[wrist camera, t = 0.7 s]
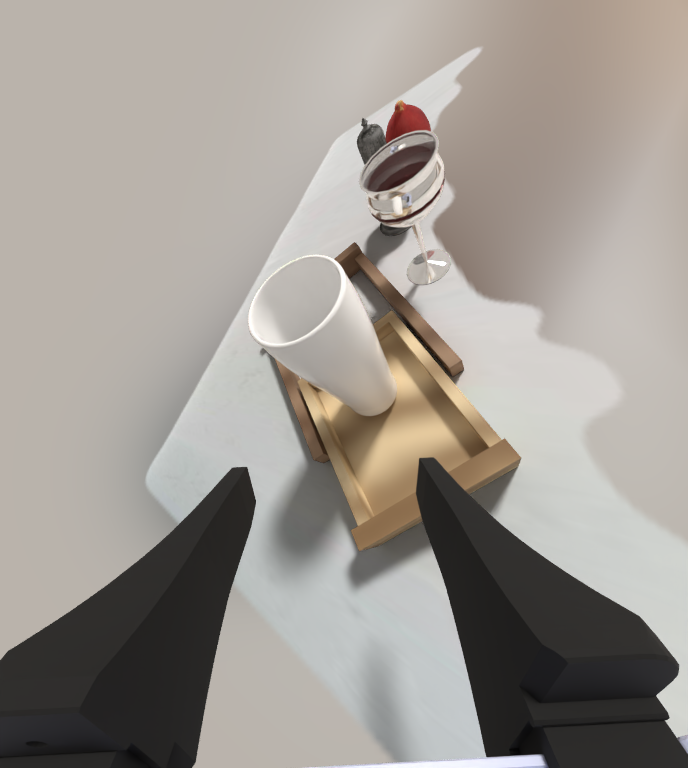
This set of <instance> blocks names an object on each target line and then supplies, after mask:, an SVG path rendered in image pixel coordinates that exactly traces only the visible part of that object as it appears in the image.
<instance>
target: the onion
mask: <svg viewBox="0 0 688 768" xmlns="http://www.w3.org/2000/svg"><path fill="white" fill-rule="evenodd" d="M419 130H428V131H430V132H431V128H430V124H429V121H428V119H427V117H426V116H425V114H424V112H423V111H422V110H421V109H419V108H418V107H415V106H412V105H406V104H405V103H404V102H403V101H402V100H400V101H398V102H397V103H396V105H395V112H394V113H393V115H392V117H391V119H390V121H389V123H388V126H387V131H386V138H385V139H386V142H387V143H389V142H390V141H392V140H393V139H395V138H397V137H399V136H402V135H404V134H406V133H410V132H413V131H419Z"/></svg>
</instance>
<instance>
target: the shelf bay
mask: <svg viewBox="0 0 688 768" xmlns="http://www.w3.org/2000/svg"><path fill="white" fill-rule="evenodd" d="M334 260H335V261H337V262H338V263H339V264H340V265H341V267H342V268H343V270H344V272H345V273H346V275H347V276H348V278H349V279H350V278H351V277H352V276H354V275H355V274H356V273H357V272H358V271H360V270H362V271H363V273H364V274H365V275H366V276H367V277H368V278H369V280H370V281H371V282H372V283H373V284H374V285H375V287H376V288H377V289H378V290H379V291H380V292H381V294H382V295H383V296H384V297H385V298H386V299H387V301H388V302H389V303H390V304H391V305H392V306H393V308H394V309H395V310H396V311H397V312H398V313H399V315H400V316H401V317H402V318H403V319H404V320H405V322H406V323H407V324H408V325H409V326H410V327H411V329H412V330H413V331H414V332H415V333H416V334H417V336H418V337H419V338H420V339H421V340H422V341H423V343H424V344H425V345H426V346H427V347H428V348H429V350H430V351H431V352H432V353H433V354H434V355H435V357H436V358H437V359H438V360H439V361H440V362H441V364H442V365H443V366H444V367H445V368H446V369H447V371H448V372H449V373H450V374H451V375H452V376H453V377H454V376H455V375H457V374H458V373H460V372H461V371H463V370H464V367H463V363H462V360H461V359H460V358H459V357H458V356H457V355H456V353H455V352H454V351H453V350H452V349H451V348H450V347H449V346H448V345H447V344H446V343H445V342H444V340H443V339H442V338H441V337H440V336H439V335H438V334H437V333H436V332H435V331H434V330H433V329H432V327H431V326H430V325H429V324H428V323H427V322H426V321H425V320H424V319H423V318H422V317H421V316H420V314H419V313H418V312H417V311H416V310H415V309H414V308H413V307H412V306H411V305H410V304H409V303H408V302H407V300H406V299H405V298H404V297H403V296H402V295H401V294H400V293H399V292H398V291H397V290H396V289H395V287H394V286H393V285H392V284H391V283H390V282H389V281H388V280H387V279H386V278H385V277H384V276H383V274H382V273H381V272H380V271H379V270H378V269H377V268H376V267H375V266H374V265H373V264H372V263H371V261H370V260H369V259H368V258H367V257H366V256H365V255H364V254H363V253H362V251H361V249H360V248H359V246H358V245H357V244H356V243H355V242H354V243H353V244H352V245H351V246H349V247H348V248H347V249H346V250H345V251H343V252H342V253H341V254H340V255H339V256H337V257H336V258H335V259H334ZM275 360H276V359H275ZM276 363H277V366H278V368H279V371H280V374H281V376H282V379H283V381H284V384H285V387H286V389H287V392H288V394H289V397H290V400H291V402H292V405H293V407H294V410H295V413H296V415H297V418H298V421H299V423H300V426H301V428H302V431H303V434H304V436H305V439H306V441H307V444H308V447H309V449H310V452H311V454H312V457H313V460H315V461H318V462H322V463H325V462H327V461H328V460H330V458H329V456H328V453H327V451H326V449H325V446H324V444H323V441H322V439H321V437H320V434H319V432H318V430H317V427H316V425H315V422H314V420H313V418H312V415H311V413H310V410H309V408H308V406H307V403H306V401H305V399H304V396H303V394H302V391H301V389H300V387H299V384H298V382H297V381H299V380H300V378H299V376H298V375H296V374H295V373H293V372H292V371H290V370H289V369H288V368H286V367H285V366H284V365H282V364H281V363H280V362H279V361H277V360H276Z"/></svg>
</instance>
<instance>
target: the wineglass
mask: <svg viewBox="0 0 688 768" xmlns="http://www.w3.org/2000/svg"><path fill="white" fill-rule="evenodd" d="M438 148H439V139H438V137H437V136H436V135H435V133H433V132H430V131H428V130H419V131H413V132H410V133H406V134H404V135H402V136H399V137H397V138H395V139H393V140H392V141H390V142H389V143H387V144H386V145H384V146H383V147H381V148H380V149H379V150H378V151H377V152H376V153H375V154H374V155H373V156H372V157H371V158H370V159H369V161H368V162H367V163H366V164H365V166H364V168H363V170H362V172H361V174H360V179H359V184H360V187H361V189H362V190H363V191H365V192H366V193H367V194H366V199H367V204H368V207H369V210H370V211H371V213H372V215H373V216H374V217H375V218H376V219H377V220H378V221H380V222H381V223H382V224H383V225H385V226H390V227H397V228H404V227H409V226H412V229H413V231H414V234H415V237H416V239H417V242H418V245H419V247H420V250H421V254H419V255H418V256H417V257H416V258H414V259H413V260H412V262H411V263H410V264H409V267H408V269H407V276H408V278H409V280H410V281H411V282H413V283H415V284H420V285H425V284H429V283H433V282H435V281H437V280H439V279H440V278H441V277H443V276H444V275H445V274H446V272H447V271H448V270H449V267H450V265H451V258H450V256H449V254H448V253H447V252H445V251H443V250H439V249H434V250H429V251H426V249H425V245H424V241H423V236H422V232H421V228H420V224H419V222H420V221H421V220H422V219H424V218H425V217H426V216H427V215H428V214H429V212H430V211H431V210H432V209H433V207H434V206H435V204H436V203H437V202H438V200H439V198H440V196H441V193H442V191H443V186H444V164H443V162H442V160H441V157H440V156H439V154H438V153H437V152H438Z"/></svg>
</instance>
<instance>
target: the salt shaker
mask: <svg viewBox="0 0 688 768" xmlns="http://www.w3.org/2000/svg"><path fill="white" fill-rule="evenodd" d="M367 122H368V121H367V120H366V119H364V118H363V119H362V124H361V126H363V129H362V131H361V132H360V134H359V136H358V139H357V146H358V149H359V152H360V154H361V157H362V159H363V162H364V164H366V163H367V162H368V161H369V159H370V158H371V157H372V156H373V155H374V154H375V153H376V152H377V151H378V150H379V149H380V148H381V147H383V146H384V145H386V144H387V142H386V139H385V136H384V133H383V130H382V128H381V127H380V126H379V125H377V124H371V125H367ZM370 212H371V211H370ZM410 227H411V226H409V227H404V228H397V227H390V226H385V225H383V224H382V223H381V224H380V230H381V232H382V233H383V234H385V235H388V236H394V235H398V234H400V233H403V232H405V231H406V230H408V229H409V228H410Z"/></svg>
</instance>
